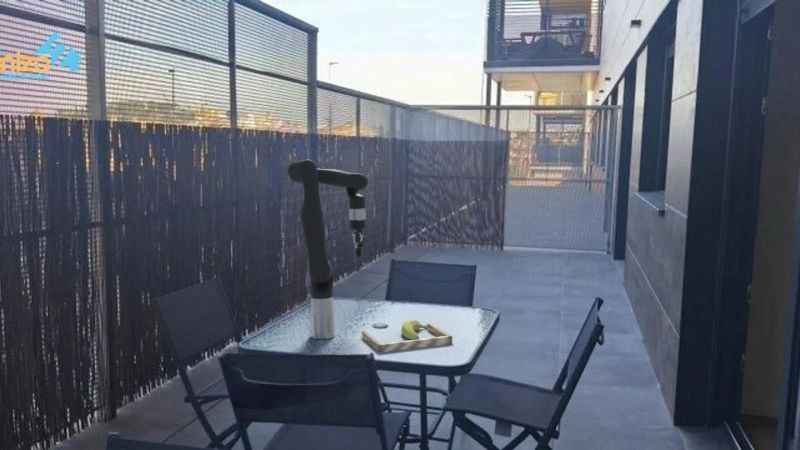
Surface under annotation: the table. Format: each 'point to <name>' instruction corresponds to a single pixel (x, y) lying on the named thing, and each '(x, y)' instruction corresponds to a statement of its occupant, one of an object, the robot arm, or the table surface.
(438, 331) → the wooden rimmed tray
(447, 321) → the table surface
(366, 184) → the robot arm
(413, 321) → the banana
